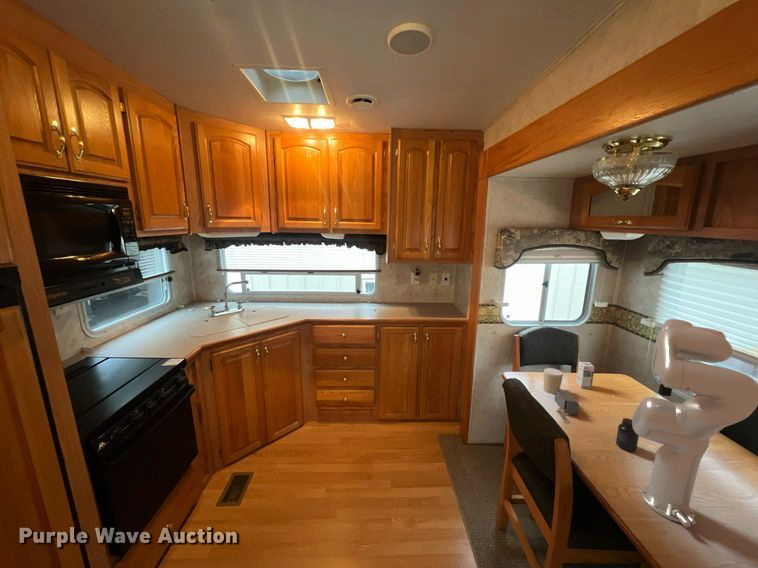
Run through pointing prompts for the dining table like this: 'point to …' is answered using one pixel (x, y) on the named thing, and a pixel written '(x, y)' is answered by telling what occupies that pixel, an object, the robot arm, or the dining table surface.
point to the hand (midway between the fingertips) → (664, 394)
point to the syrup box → (585, 375)
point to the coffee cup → (552, 380)
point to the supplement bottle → (627, 436)
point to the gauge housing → (563, 402)
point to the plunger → (571, 408)
